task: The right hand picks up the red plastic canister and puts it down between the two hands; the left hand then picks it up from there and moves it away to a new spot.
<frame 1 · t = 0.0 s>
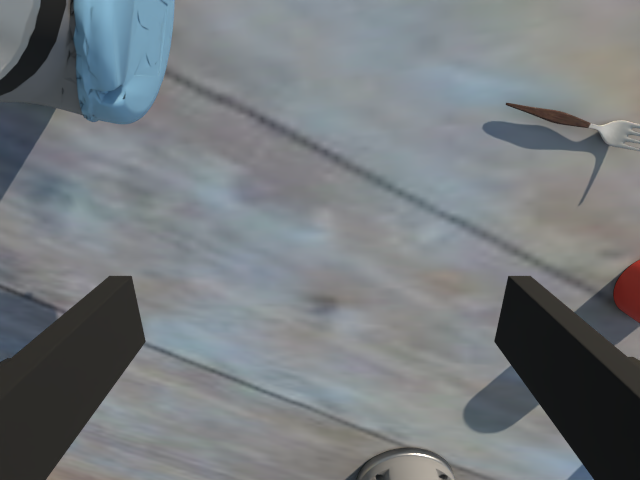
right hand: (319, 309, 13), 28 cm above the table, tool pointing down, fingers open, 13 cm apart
fork: (574, 122, 37), on the table
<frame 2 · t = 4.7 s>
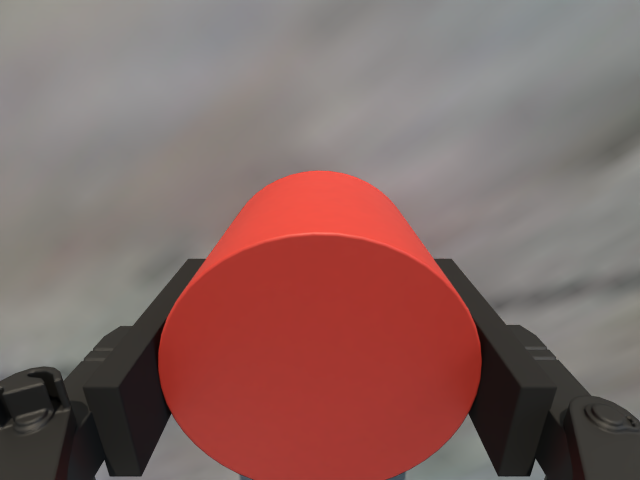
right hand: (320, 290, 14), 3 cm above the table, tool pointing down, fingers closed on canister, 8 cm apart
canister: (319, 263, 16), on the table, touching right hand
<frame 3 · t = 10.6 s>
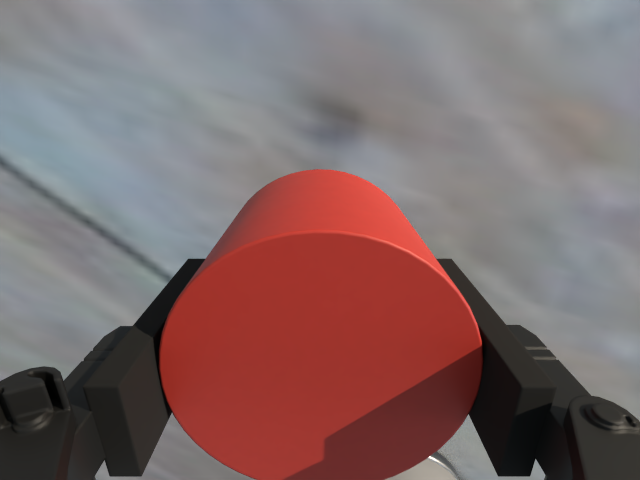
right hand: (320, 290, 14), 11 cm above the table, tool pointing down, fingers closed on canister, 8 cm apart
canister: (320, 261, 16), point 9 cm above the table, touching right hand
when the right hand's fingers open (4 cm above the table, at t = 17.0 s): canister drops 1 cm, on the table.
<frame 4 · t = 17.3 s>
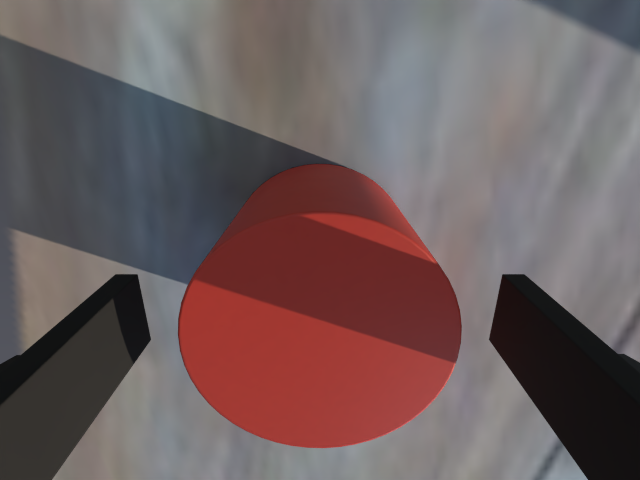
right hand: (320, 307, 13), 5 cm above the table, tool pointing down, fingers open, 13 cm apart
canister: (319, 249, 18), on the table
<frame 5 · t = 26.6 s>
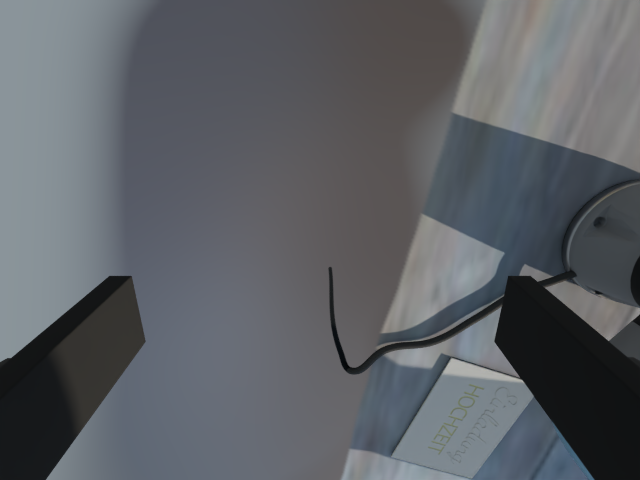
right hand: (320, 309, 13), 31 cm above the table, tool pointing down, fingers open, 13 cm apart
invitation card: (461, 421, 57), on the table
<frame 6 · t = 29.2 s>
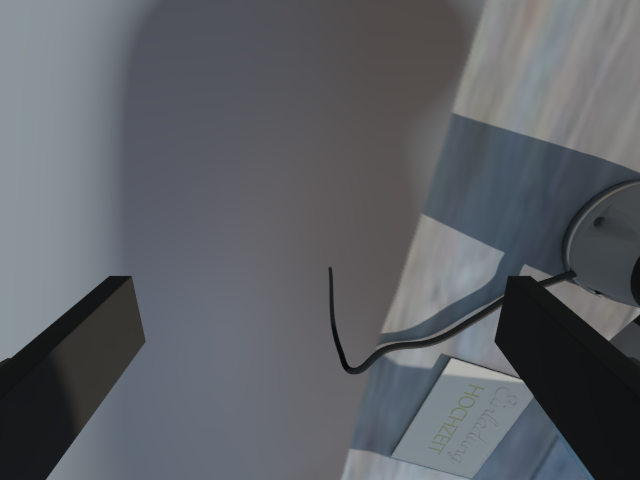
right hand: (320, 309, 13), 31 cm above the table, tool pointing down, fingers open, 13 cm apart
invitation card: (461, 421, 57), on the table
when the left hand's fingers open (4 cm above the table, at t = 32.3 s): canister drops 1 cm, on the table.
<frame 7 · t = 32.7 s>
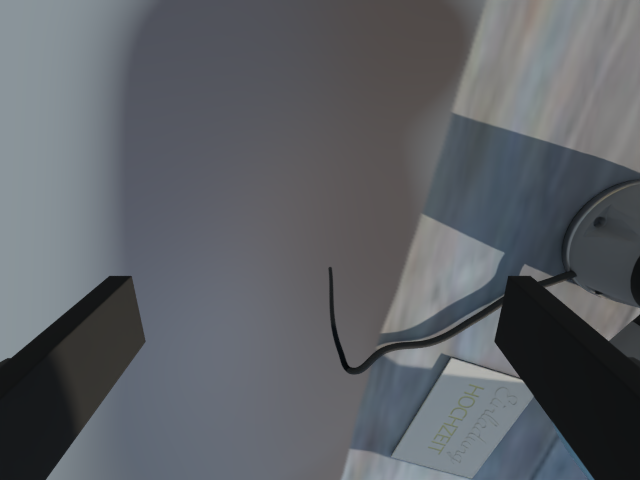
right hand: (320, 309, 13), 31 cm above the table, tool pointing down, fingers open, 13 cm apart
invitation card: (461, 421, 57), on the table
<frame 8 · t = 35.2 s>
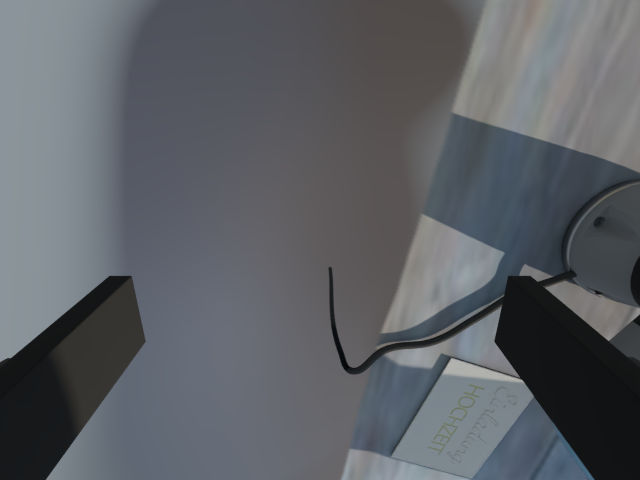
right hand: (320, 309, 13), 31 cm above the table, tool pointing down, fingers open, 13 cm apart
invitation card: (461, 421, 57), on the table
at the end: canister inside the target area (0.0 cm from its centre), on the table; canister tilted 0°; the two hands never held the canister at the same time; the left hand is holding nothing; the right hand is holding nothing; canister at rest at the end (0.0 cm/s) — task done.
